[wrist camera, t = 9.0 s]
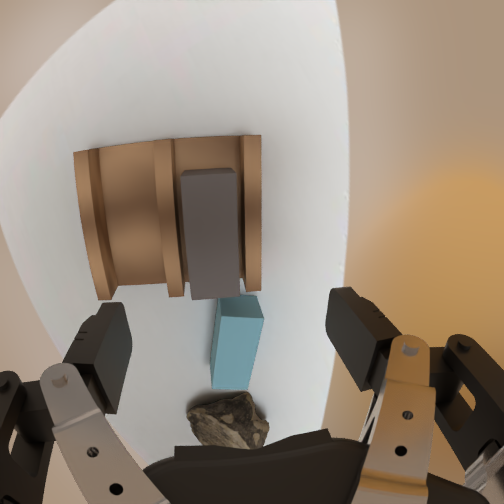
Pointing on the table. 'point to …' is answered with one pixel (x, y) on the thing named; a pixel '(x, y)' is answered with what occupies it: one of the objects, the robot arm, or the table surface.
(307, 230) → the table surface
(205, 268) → the dark gray block
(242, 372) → the tall teal pillar
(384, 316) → the robot arm
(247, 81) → the table surface
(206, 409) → the brown rock
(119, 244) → the block
